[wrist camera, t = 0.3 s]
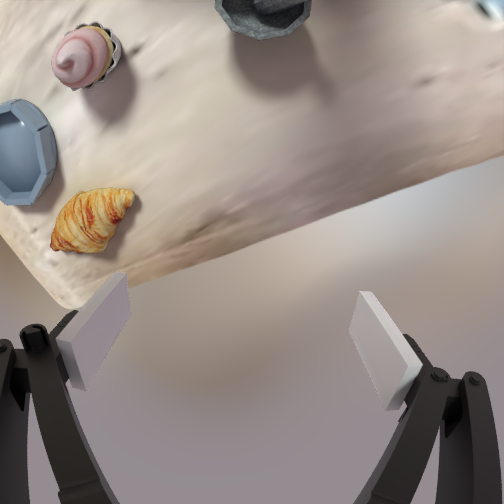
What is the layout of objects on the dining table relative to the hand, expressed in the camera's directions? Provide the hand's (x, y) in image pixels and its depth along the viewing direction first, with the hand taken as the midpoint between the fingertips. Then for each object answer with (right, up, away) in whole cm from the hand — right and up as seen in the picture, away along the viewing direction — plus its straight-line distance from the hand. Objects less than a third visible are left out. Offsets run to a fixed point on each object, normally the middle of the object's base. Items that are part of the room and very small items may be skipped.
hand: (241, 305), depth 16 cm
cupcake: (-19, +29, +13) cm, 37 cm away
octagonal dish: (-38, +20, +20) cm, 48 cm away
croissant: (-26, +9, +29) cm, 40 cm away
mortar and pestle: (+2, +32, +10) cm, 34 cm away
